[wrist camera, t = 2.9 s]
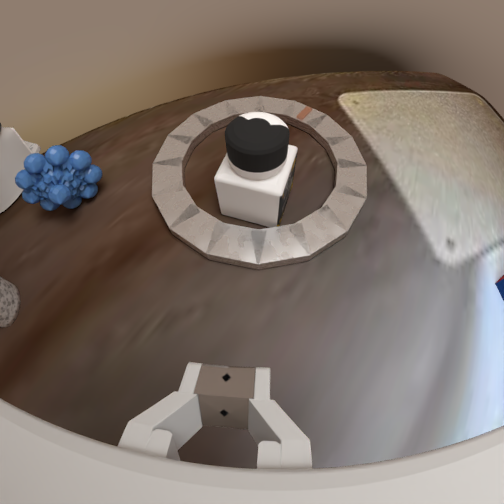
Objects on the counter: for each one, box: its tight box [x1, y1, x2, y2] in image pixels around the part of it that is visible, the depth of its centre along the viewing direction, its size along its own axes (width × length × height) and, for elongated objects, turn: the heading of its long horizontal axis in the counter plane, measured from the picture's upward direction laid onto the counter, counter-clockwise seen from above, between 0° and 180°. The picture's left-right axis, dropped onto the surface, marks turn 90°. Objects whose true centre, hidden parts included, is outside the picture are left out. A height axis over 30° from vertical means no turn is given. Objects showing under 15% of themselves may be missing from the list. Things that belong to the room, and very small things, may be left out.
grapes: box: [15, 145, 102, 211], centre depth 32 cm, size 12×7×12 cm, turn 116°
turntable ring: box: [152, 96, 367, 270], centre depth 38 cm, size 28×28×2 cm
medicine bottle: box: [214, 112, 297, 228], centre depth 31 cm, size 7×7×12 cm
